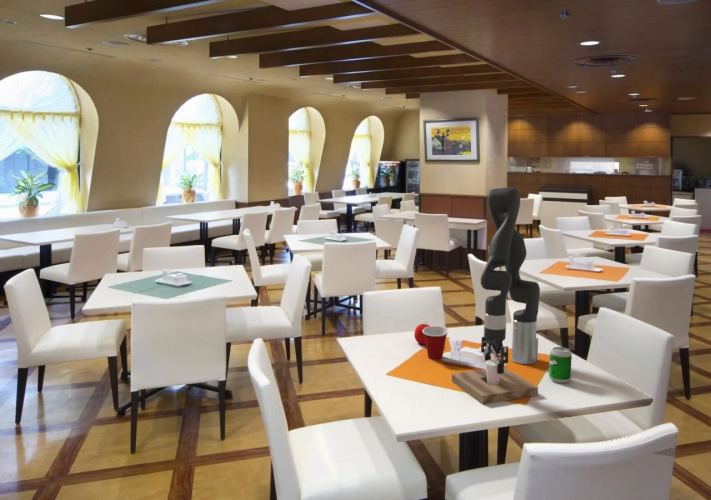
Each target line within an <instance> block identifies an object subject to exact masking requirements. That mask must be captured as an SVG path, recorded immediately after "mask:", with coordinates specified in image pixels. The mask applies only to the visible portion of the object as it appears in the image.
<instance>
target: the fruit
mask: <svg viewBox="0 0 711 500" xmlns="http://www.w3.org/2000/svg"><path fill="white" fill-rule="evenodd" d="M430 326H431V325H429V324H427V321H425V323H421V324H418V325H417V326H416V327H415V329H414V330H415V331H414V339H415V341H416V342H417V343H418V344H420V345H422V346H423V345H424V346H426V342H425V337H424V334H423V332H422V330H423V329H424V328H426V327H430Z"/></svg>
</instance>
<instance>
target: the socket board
mask: <svg viewBox="0 0 711 500" xmlns="http://www.w3.org/2000/svg"><path fill="white" fill-rule="evenodd" d="M451 382H452V383H453V384H455V385H456V386H457V387H458V388H460V389H461V390H462V391H464V392H465V393H466V394H467V395H469V396H471V397H472V398H473V399H475V400H476V401H478V403H480V404H481V405H487V404H494V403H499V402H505V401H511V400H512V401H513V400H518V399H524V398H529V397H536V396H538V395H539V386H537V385H535V384H533V382H531V381H528V380H527V379H525V378H523V376H520V375H519V374H517V373H515V372H513V371H512V370H510V369H508V368H507V367H505V366H504V373H503V374H501V376H500V382H499V384H496V385H489V384H488V383H487V373H486V368H482V369H476V370H468V371H462V372H455V373H454V372H453V373H451ZM486 403H487V404H486Z"/></svg>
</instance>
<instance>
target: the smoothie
mask: <svg viewBox="0 0 711 500" xmlns="http://www.w3.org/2000/svg"><path fill="white" fill-rule="evenodd" d="M497 363H498V362H497V359H496V358H495V357H494V359H491V360H487V361H485V360H484V366H485V369H486V373H487V383H488V384H489V385H496V384H499V382H500V376H501V374H498V373H497Z"/></svg>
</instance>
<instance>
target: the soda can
mask: <svg viewBox="0 0 711 500" xmlns="http://www.w3.org/2000/svg"><path fill="white" fill-rule="evenodd" d="M572 356H573V353H572V351H571V350H570V349H569V348H567V347H563V346H555V347H552V349H550V351H549V369H548V371H549V372H548V373H549V374H548V376H549V377H548V378H549V379H550V380H551V381H552V382H553V383H557V384H567V383H568V382H569V381H570V380H571V379H572V378H571V376H572V375H571V374H572Z"/></svg>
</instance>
